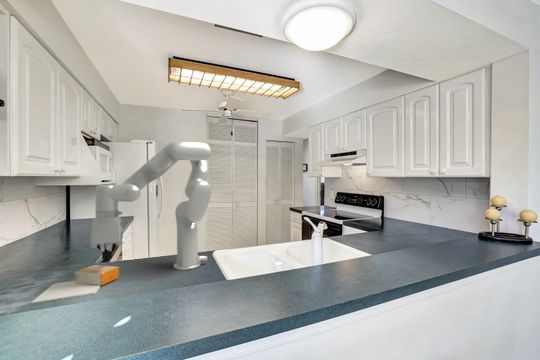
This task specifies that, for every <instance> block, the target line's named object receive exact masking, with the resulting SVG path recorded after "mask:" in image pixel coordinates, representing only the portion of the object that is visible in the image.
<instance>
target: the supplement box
mask: <svg viewBox="0 0 540 360" xmlns="http://www.w3.org/2000/svg"><path fill="white" fill-rule="evenodd" d="M119 269H120V267H119V266H113V265H111V266H110V265H98V264H93V265H90V266H88V267H85V268H82V269H78V270H77V271H75V275H74V276H75V281H76V283H82V284H94V285H101V286H104V285H106V284H107V283H110V282H112V281H114V280H117V279H118V278H119V276H120V274H119V271H120V270H119Z"/></svg>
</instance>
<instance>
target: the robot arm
mask: <svg viewBox="0 0 540 360" xmlns="http://www.w3.org/2000/svg"><path fill="white" fill-rule="evenodd" d="M211 156H212V149H211V147H210V145H208V144H207V143H204V142H199V141H198V142H195V141H193V142H192V141H179V140H178V141H173V142H171V143H169V144H167V145H165V146H164V147H163V148H162V149H160V150H159V152H157V153H156V154H155V155H154V156H153V157H152V158H150V159H149V160H148V161H146V163H144V164H143V165H142V166H141V167H140V168H138V170H136V171H135V172H134V173H133V174H132V175H130V176H129V177H128V178H127V179H126V180H124V181H123V182H122V183H121V184H117V185H116V184H98V185H96V187H95V218H94V219H93V221H92V225H91V231H90V248H95V249H97V250H99V251H100V252H101V260H103V263H106V262H110V261H111V259H113V249H114V248H116V247H119V246H121V245H123V243H124V242H123V238H124V237H123V236H124V235H123V223H122V218H121V217H120V215H121V216H122V215H123V211H120V210H119V202H126V203H127V202H128V203H131V202H132V203H133V202H134V201H137V200H138V199H139V198H140V196H141V190H143V189H144V188H145V187H146V186H148V185H149V184H150V183H153V181H156V180H158V179H160V178H161V177H162V176H163V175H165V174H166V172H167V171H168V170H170V169H171V168H172V167H173V166H174V165H175V164H177V162H179V161H189V162H190V164H191V172H190V175H189V178H188V180H187V183H186V185H185V188H184V194H185V196H186V197H187V198H188V200H184V201H181V202H180V203H178V204H177V205H176V208H175V221H176V262H175V263H174V264H173V269H175V270H178V271H187V270H192V269H196V268H198V267H200V266H201V264H202V262H203V261H208V256H207V255H206V256H205V255H199V253H198V222H200V221H201V220H202V219H203V218H204V216H205V214H206V211H207V208H208V205H209V203H210V200H211V196H212V187H211V184H210V183H209V182H208V178H209V174H210V167H209V163H208V160H209V158H210V157H211ZM107 244H108V248H107Z"/></svg>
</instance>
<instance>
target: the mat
mask: <svg viewBox="0 0 540 360" xmlns="http://www.w3.org/2000/svg"><path fill="white" fill-rule="evenodd" d="M101 287H102V285H94V284H82V283H76V280H71V281H64V282H63V281H62V282H56V283H53V284H52V285H50V286H49V287H48V288H47V289H46V290H44V291H43V292H42V293H40V294H39V295H38V296H37V297H35V299H33V300H32V301H31V302H30V304H31V305H34V304H39V303H40V304H41V303H47V301H48V302H53V301H52V300H54V301H59V300H58V299H61V300H66V299H65V298H67V299H73V298H79V297H85V296H93V295H96V293H97V292H98V290H100V288H101Z"/></svg>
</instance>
